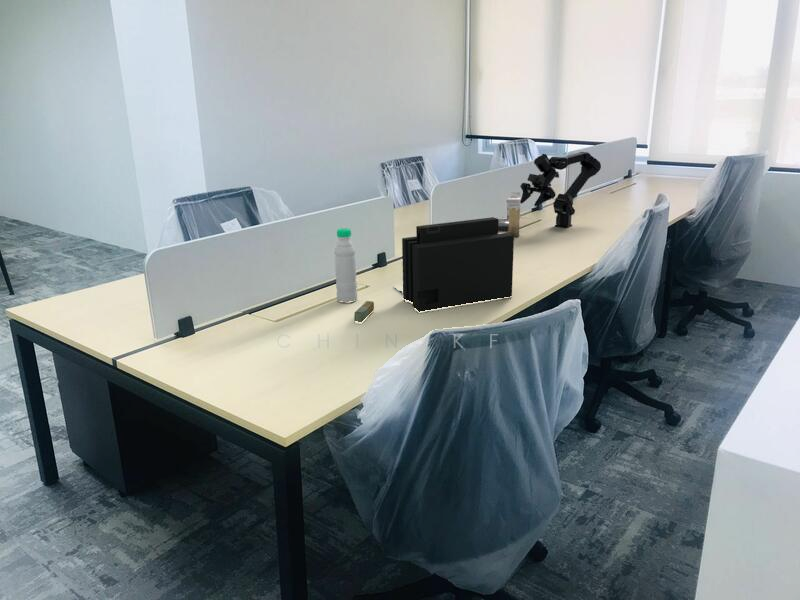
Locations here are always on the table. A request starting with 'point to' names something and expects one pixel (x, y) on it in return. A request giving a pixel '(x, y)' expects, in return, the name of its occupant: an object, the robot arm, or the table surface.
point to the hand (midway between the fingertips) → (527, 204)
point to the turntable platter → (503, 222)
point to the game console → (457, 264)
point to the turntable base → (502, 228)
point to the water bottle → (345, 267)
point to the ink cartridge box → (513, 202)
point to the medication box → (364, 311)
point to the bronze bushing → (514, 221)
